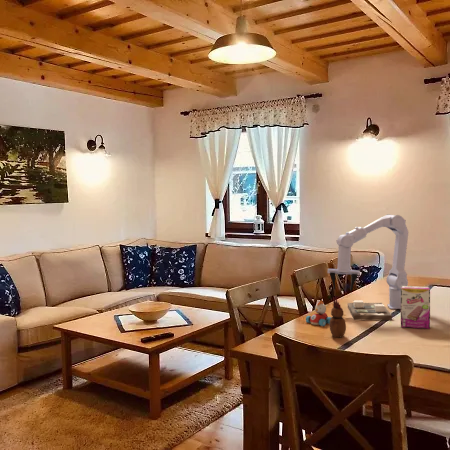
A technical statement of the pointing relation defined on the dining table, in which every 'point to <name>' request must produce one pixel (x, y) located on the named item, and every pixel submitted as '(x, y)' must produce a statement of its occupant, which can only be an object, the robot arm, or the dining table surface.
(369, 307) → the switch panel
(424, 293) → the candy bar box
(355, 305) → the tab
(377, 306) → the tab
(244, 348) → the dining table surface
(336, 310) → the wooden figurine
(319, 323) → the toy car
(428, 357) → the dining table surface
